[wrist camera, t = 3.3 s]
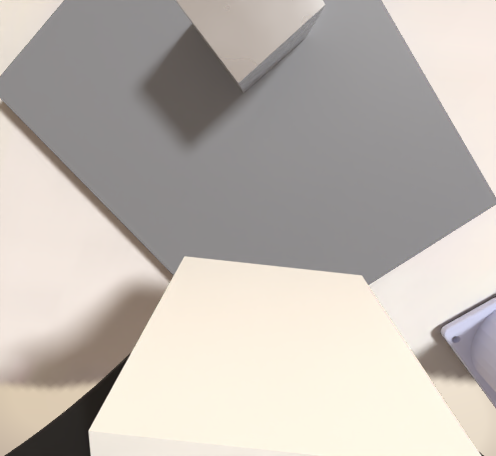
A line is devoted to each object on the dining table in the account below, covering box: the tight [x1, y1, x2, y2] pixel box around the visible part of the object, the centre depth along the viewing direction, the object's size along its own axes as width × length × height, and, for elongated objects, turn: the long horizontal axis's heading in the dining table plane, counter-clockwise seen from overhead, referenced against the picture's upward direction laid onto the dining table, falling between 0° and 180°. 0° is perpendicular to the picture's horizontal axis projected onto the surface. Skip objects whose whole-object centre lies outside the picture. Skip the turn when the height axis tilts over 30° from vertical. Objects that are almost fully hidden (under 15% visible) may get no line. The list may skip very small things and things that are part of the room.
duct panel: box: [0, 0, 496, 285], centre depth 16 cm, size 20×16×1 cm
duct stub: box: [175, 0, 325, 93], centre depth 12 cm, size 4×4×5 cm
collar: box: [89, 256, 481, 456], centre depth 8 cm, size 6×6×6 cm
